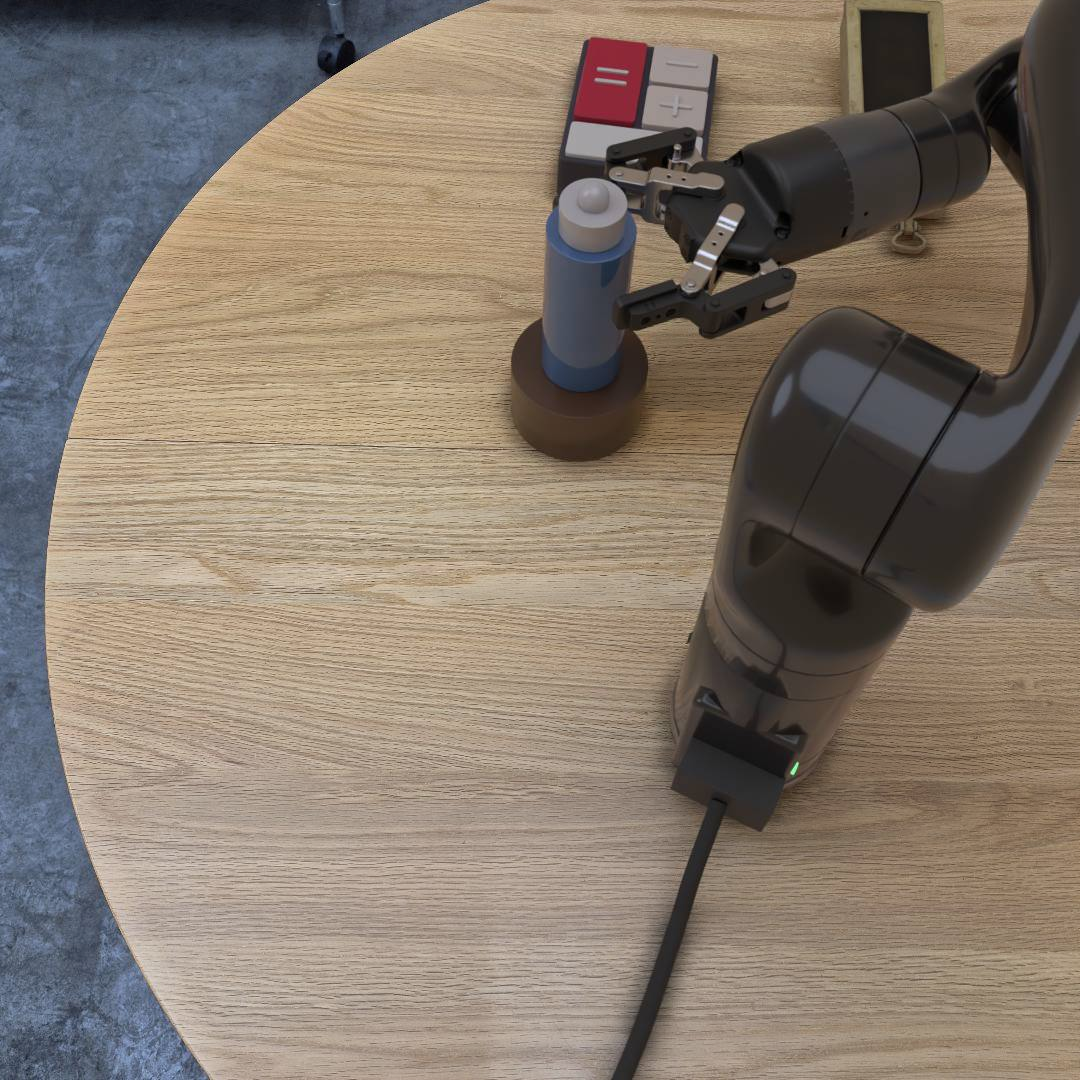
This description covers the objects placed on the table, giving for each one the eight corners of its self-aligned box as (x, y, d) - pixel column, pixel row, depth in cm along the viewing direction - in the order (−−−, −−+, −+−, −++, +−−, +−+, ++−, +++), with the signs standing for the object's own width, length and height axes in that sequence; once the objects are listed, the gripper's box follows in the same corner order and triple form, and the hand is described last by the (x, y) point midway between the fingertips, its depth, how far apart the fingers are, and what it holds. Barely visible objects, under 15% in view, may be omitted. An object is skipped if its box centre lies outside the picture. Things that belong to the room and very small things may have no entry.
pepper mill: (599, 404, 77) (618, 233, 64) (527, 374, 78) (530, 200, 65) (633, 347, 79) (657, 171, 66) (562, 318, 80) (572, 140, 67)
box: (924, 41, 100) (942, -5, 96) (946, 273, 93) (967, 236, 88) (824, 38, 100) (838, -8, 96) (838, 271, 93) (854, 233, 88)
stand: (608, 481, 80) (613, 438, 75) (488, 430, 82) (486, 385, 77) (662, 384, 84) (670, 338, 80) (546, 338, 86) (548, 290, 81)
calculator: (720, 45, 96) (706, 169, 88) (712, 91, 100) (697, 214, 92) (584, 29, 97) (557, 151, 89) (581, 75, 100) (555, 196, 92)
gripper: (778, 63, 74) (536, 134, 70) (903, 221, 67) (643, 307, 64) (757, 158, 80) (534, 226, 77) (868, 310, 74) (631, 392, 70)
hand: (584, 263), depth 70 cm, fingers open, 8 cm apart
